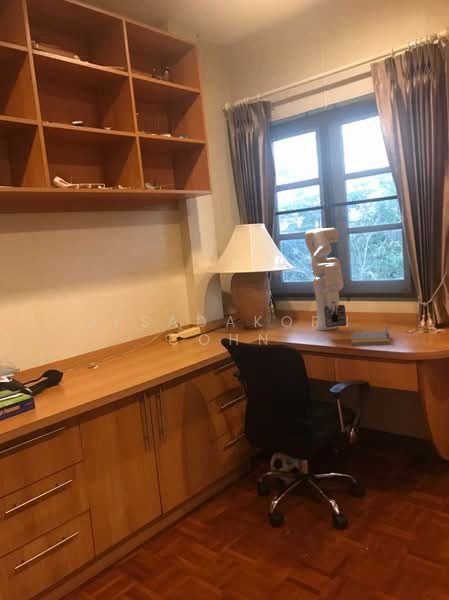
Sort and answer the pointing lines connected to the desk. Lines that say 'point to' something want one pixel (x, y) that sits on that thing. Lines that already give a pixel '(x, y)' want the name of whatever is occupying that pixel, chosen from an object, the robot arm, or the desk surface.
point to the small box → (340, 316)
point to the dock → (371, 338)
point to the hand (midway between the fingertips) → (335, 319)
